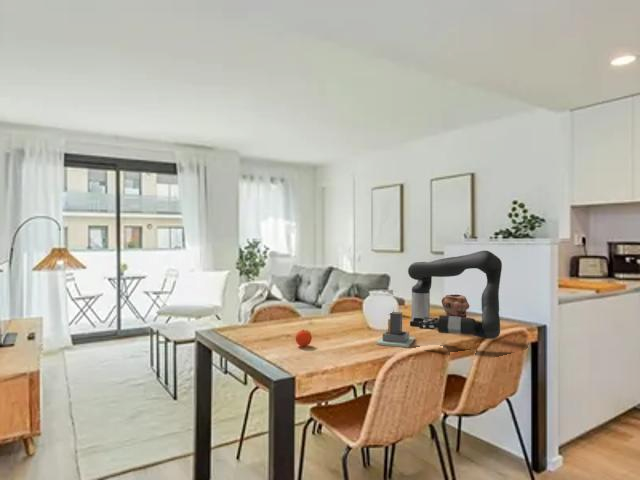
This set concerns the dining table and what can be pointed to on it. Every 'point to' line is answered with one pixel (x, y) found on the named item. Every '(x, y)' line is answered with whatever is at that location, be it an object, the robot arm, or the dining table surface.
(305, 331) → the red rounded piece
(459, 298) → the decorative planter
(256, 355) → the dining table surface
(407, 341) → the dock
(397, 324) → the dark grey block
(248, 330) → the dining table surface
